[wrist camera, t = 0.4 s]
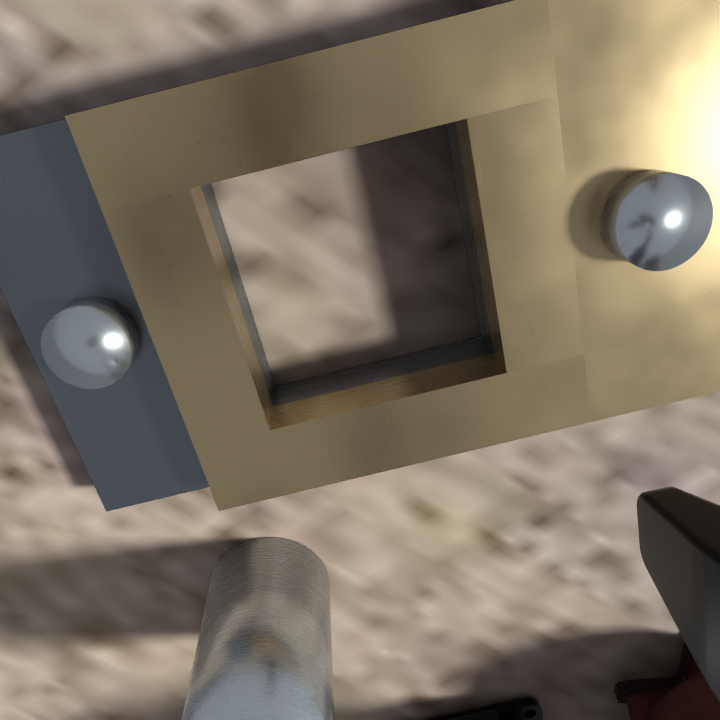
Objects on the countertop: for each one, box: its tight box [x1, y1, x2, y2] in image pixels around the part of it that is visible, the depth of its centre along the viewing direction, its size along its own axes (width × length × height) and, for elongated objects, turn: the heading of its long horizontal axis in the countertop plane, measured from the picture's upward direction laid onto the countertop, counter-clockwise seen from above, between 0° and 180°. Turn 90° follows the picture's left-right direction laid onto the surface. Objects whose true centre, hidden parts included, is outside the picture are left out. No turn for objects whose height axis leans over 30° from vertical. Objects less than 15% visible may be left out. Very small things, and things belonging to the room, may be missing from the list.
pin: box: [181, 537, 334, 720], centre depth 20 cm, size 4×4×9 cm
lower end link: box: [0, 119, 493, 511], centre depth 19 cm, size 12×16×2 cm
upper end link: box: [65, 0, 720, 511], centre depth 18 cm, size 12×16×4 cm
